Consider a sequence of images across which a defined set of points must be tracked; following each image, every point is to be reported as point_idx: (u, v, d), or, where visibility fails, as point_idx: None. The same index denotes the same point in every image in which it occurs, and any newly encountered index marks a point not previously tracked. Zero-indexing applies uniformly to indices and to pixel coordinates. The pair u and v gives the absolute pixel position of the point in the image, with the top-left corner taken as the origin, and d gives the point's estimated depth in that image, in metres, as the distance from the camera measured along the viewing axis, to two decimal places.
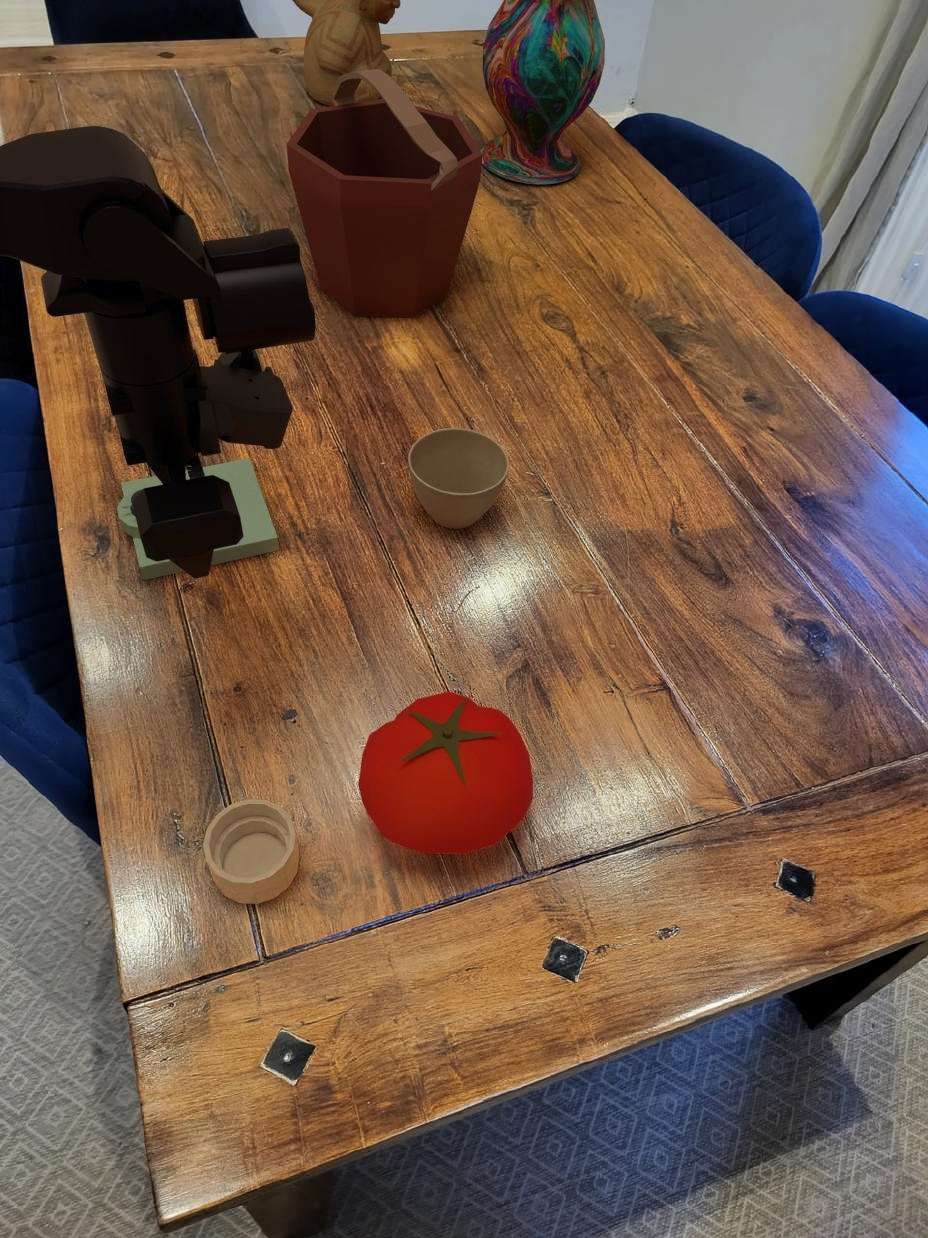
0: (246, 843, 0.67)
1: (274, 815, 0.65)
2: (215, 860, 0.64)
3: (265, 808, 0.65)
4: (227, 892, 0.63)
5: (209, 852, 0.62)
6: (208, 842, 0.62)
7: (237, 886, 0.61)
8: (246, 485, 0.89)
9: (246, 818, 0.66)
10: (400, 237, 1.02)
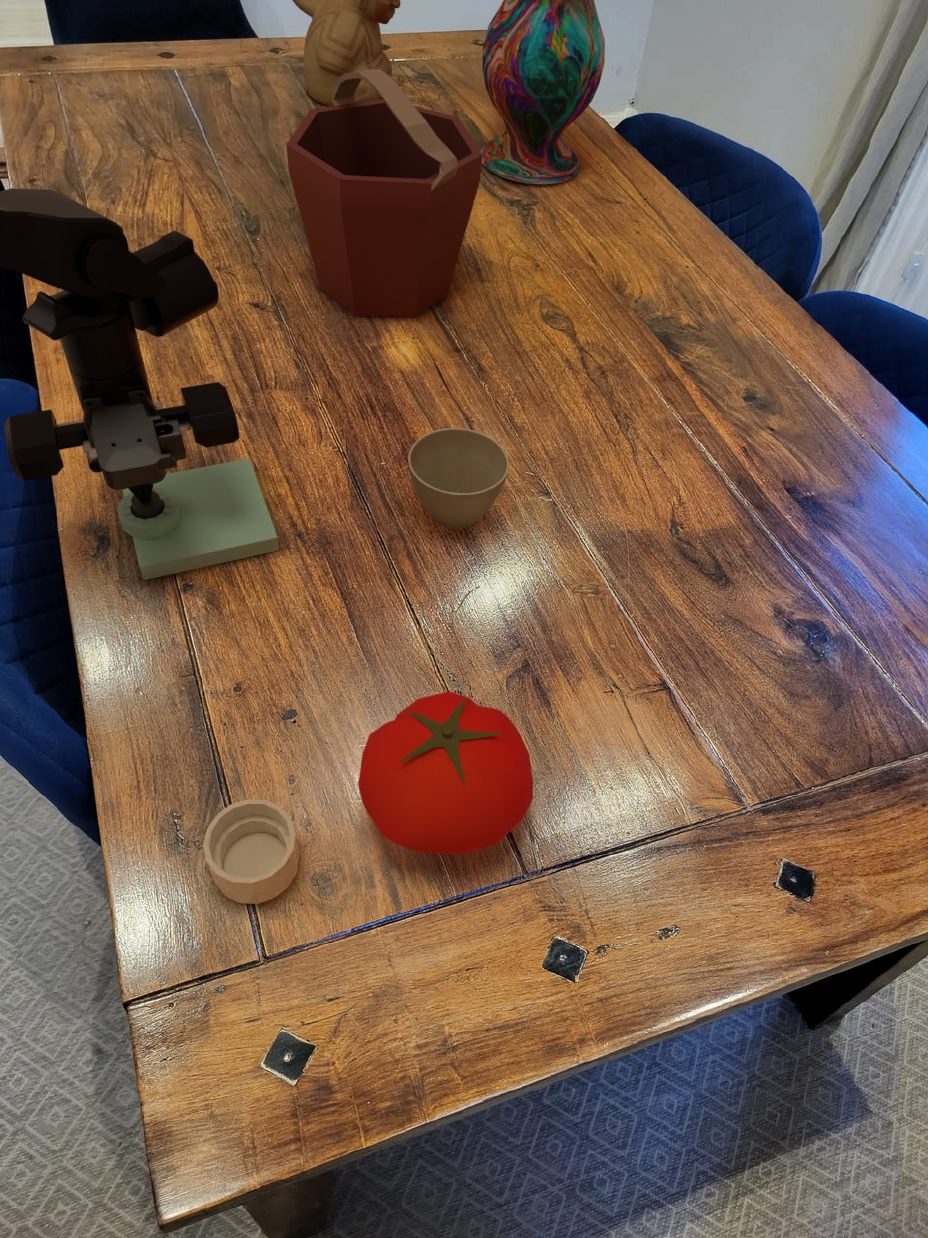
0: (246, 843, 0.67)
1: (274, 815, 0.65)
2: (215, 860, 0.64)
3: (265, 808, 0.65)
4: (227, 892, 0.63)
5: (209, 852, 0.62)
6: (208, 842, 0.62)
7: (237, 886, 0.61)
8: (246, 485, 0.89)
9: (246, 818, 0.66)
10: (400, 237, 1.02)
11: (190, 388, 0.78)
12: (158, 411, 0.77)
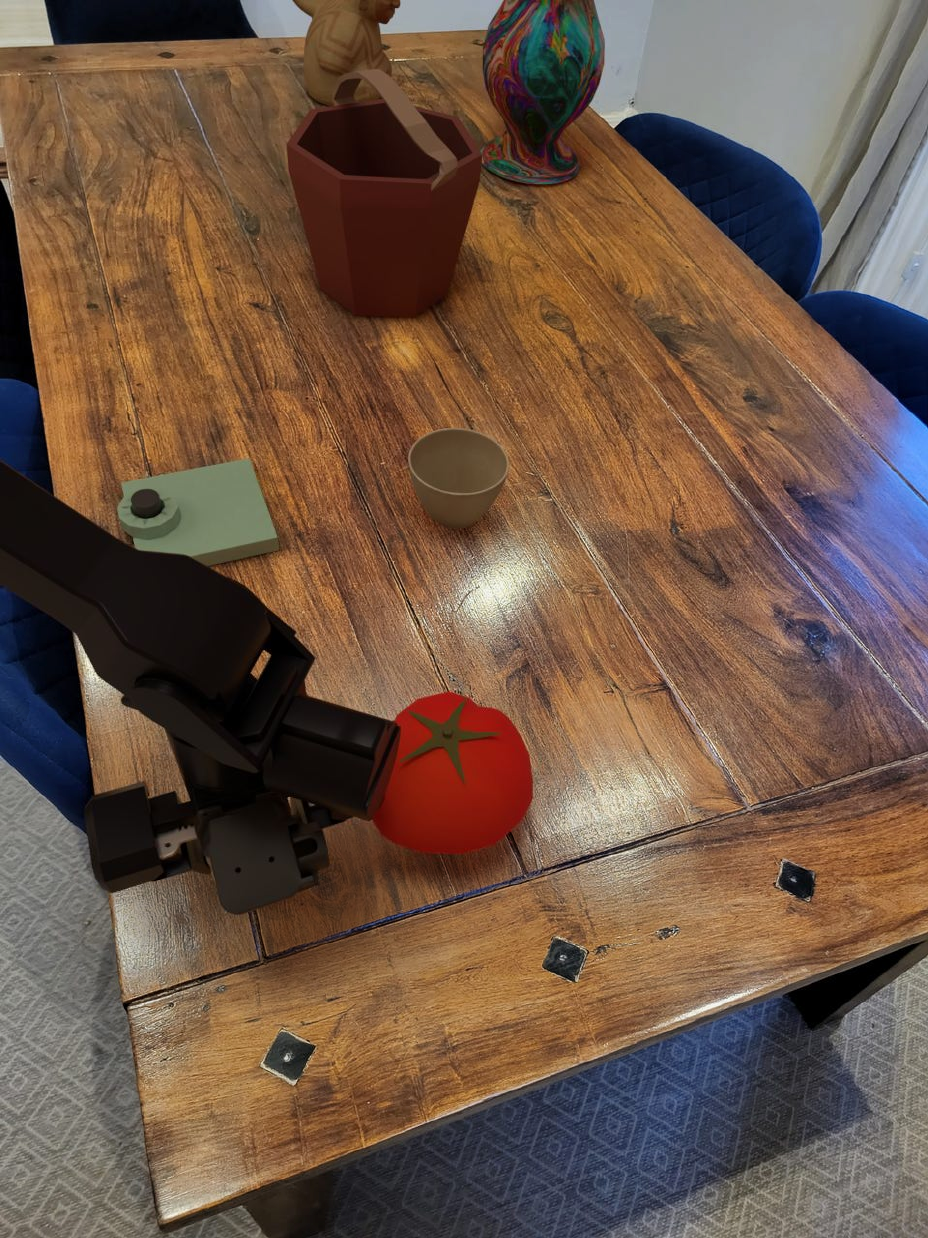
0: None
1: None
2: None
3: None
4: None
5: None
6: None
7: None
8: (246, 485, 0.89)
9: None
10: (400, 237, 1.02)
11: None
12: None
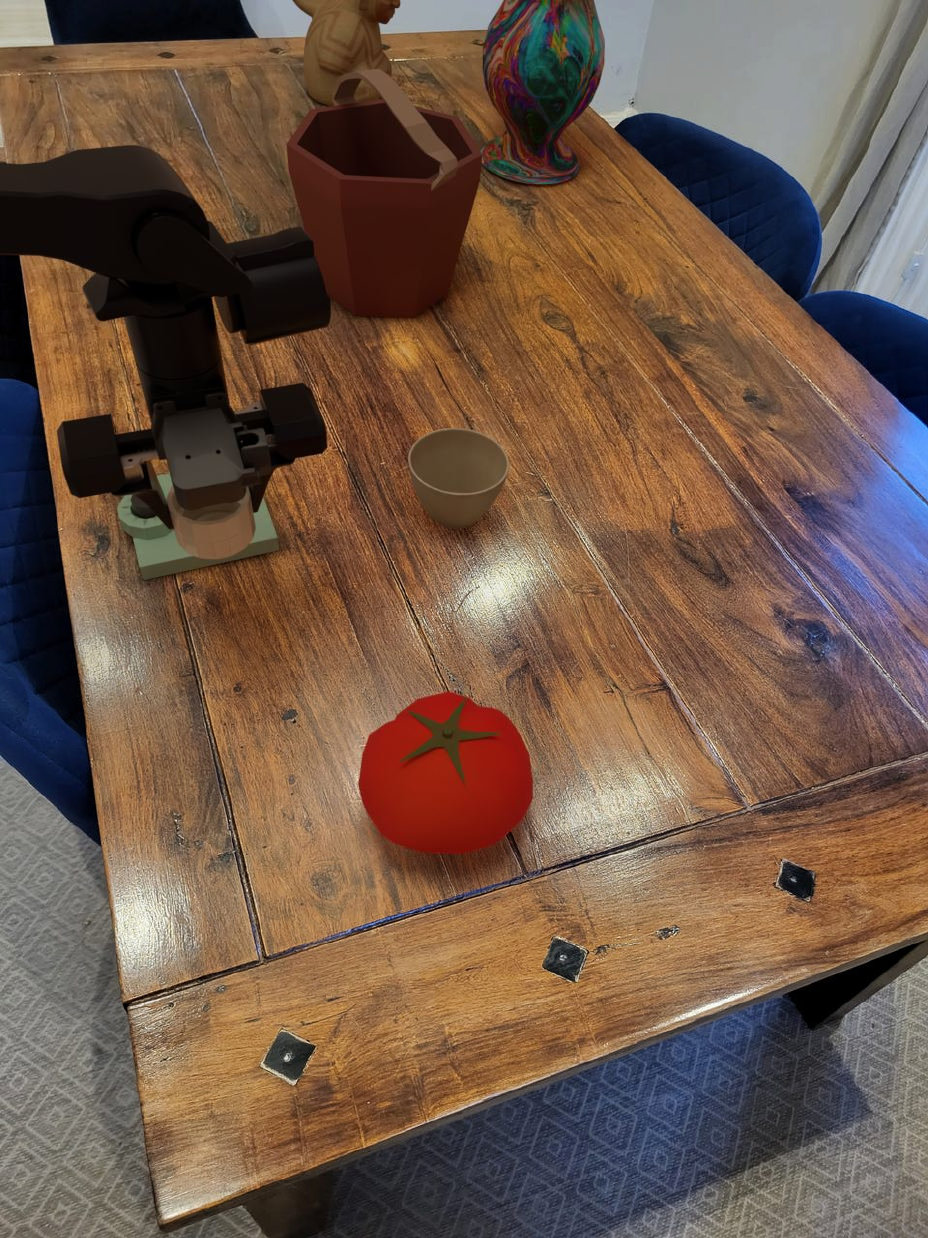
0: (208, 517, 0.74)
1: None
2: None
3: None
4: (188, 544, 0.70)
5: (171, 503, 0.69)
6: (171, 496, 0.70)
7: (196, 530, 0.68)
8: None
9: None
10: (400, 237, 1.02)
11: (271, 390, 0.67)
12: None
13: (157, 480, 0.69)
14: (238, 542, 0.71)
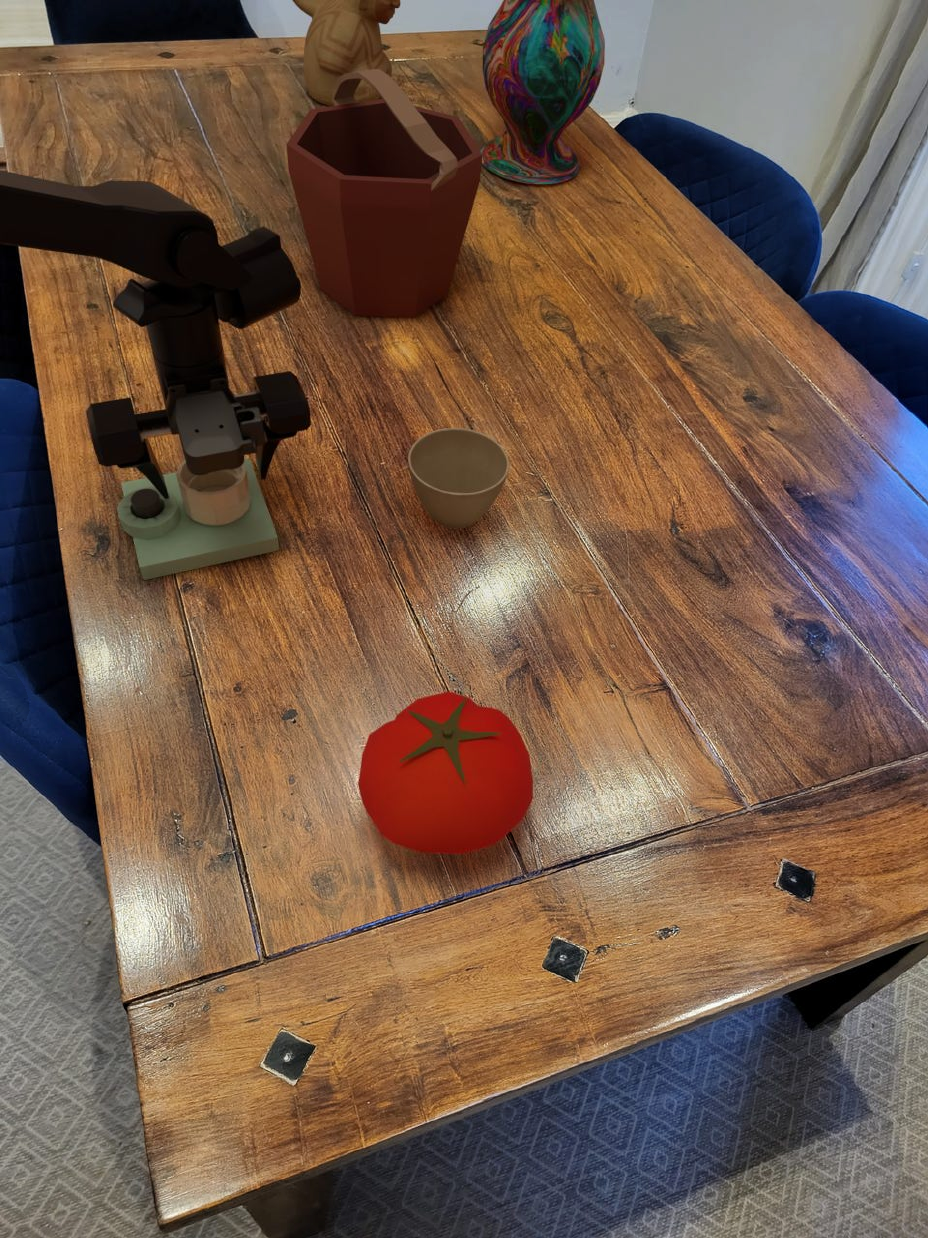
0: (210, 491, 0.87)
1: None
2: None
3: None
4: (194, 512, 0.84)
5: (180, 477, 0.83)
6: (180, 472, 0.83)
7: (201, 500, 0.82)
8: None
9: None
10: (400, 237, 1.02)
11: (263, 377, 0.80)
12: None
13: (154, 456, 0.81)
14: (236, 510, 0.84)
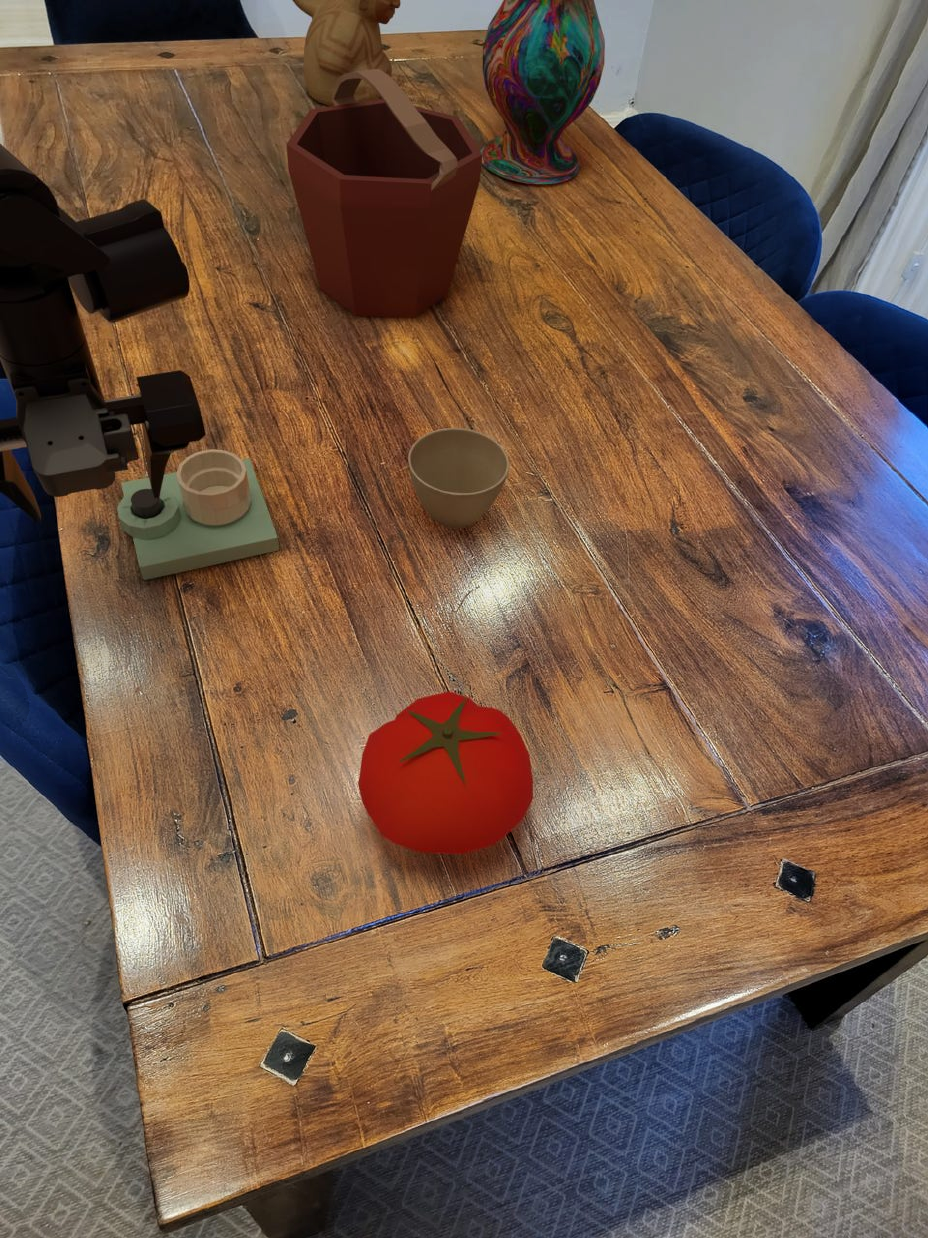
0: (210, 491, 0.87)
1: (231, 463, 0.86)
2: None
3: (224, 457, 0.86)
4: (194, 512, 0.84)
5: (180, 477, 0.83)
6: (180, 472, 0.83)
7: (201, 500, 0.82)
8: None
9: (210, 468, 0.86)
10: (400, 237, 1.02)
11: (147, 377, 0.67)
12: (109, 404, 0.65)
13: (20, 472, 0.68)
14: (236, 510, 0.84)
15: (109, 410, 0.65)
